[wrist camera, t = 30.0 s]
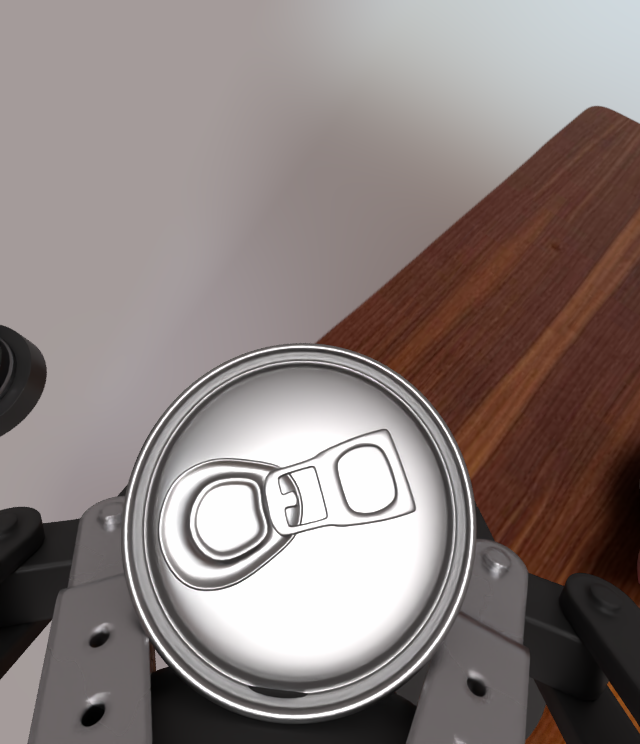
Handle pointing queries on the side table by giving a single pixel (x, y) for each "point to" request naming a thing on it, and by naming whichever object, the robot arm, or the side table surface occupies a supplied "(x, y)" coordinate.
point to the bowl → (639, 562)
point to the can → (298, 533)
